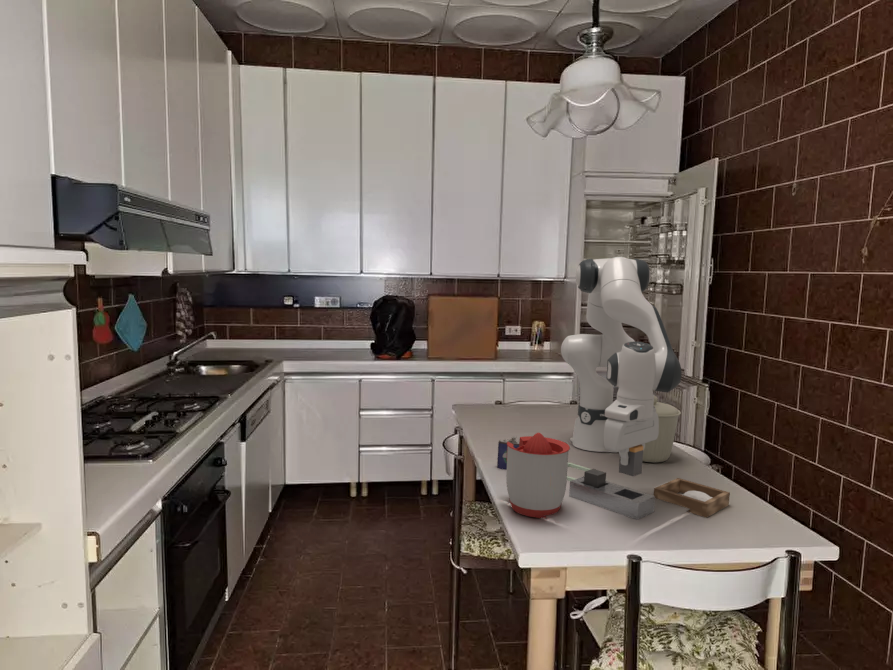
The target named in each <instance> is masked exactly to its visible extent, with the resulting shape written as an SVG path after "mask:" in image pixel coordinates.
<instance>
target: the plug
mask: <svg viewBox="0 0 893 670" xmlns="http://www.w3.org/2000/svg"><path fill="white" fill-rule="evenodd" d="M628 457H629V458H630V464H629V465H622V464H621V457H620V456H619V464H618V473H621V474H624V475H627V476H631V477H636V476H638V475H640V474H641V475H642V473H643V462H644V461H643V446H642V445H638V446H635V447H631V448H629V452H628Z"/></svg>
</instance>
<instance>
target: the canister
mask: <svg viewBox="0 0 893 670" xmlns="http://www.w3.org/2000/svg"><path fill="white" fill-rule="evenodd" d="M654 407H655V408H656V413H657V414H658V419H659V434H658V437H657V439H656V440H654V441H650V442H647V443H645V448H644V450H643V461H642V462H645V463H653V464H654V463H655V464H656V463H663V462H665V461H667V460H668V459H669V458H670V456H671V453H672V450H673V446H674V441H675V437H676V431H677V425H678V421H679V416H681V414H682V411H680V410H679V409H678V408H676V407H675V406H673V404H672V405H671V404H669V403H666V402H665V403H664V402H659V398H658V396H656V395H654Z"/></svg>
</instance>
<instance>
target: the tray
mask: <svg viewBox="0 0 893 670" xmlns="http://www.w3.org/2000/svg"><path fill="white" fill-rule="evenodd" d="M569 467H571V468H573V469H577V470H580V471H583V472H585V471H588V470H591V469H592V468H589V467H587V466H582V465H579V464H576V463H573V462H569V461H568V468H569ZM575 479H576V477H572V476H568V475H567V482H568V481H569V482H570V481H572V480H575Z"/></svg>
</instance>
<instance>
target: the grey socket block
mask: <svg viewBox="0 0 893 670" xmlns="http://www.w3.org/2000/svg"><path fill="white" fill-rule="evenodd" d="M568 490H569V491H568V493H569V494H568V496H569V497H571V498H574V499H577V500H580V501H582V502H585V503H589V504H590V505H593V506H597V507H599V508H603V509H604V510H605V509H606V510H608V511H610V512H614V513H616V514H620V515H622V516H625V517H628V518H630V519H631V518H632V519H633V520H640V519H642V518H645V517H646V516H648V515H650V514H652V513H654V512H655V501H656V498H655V496H654V494H649V493H647V492H643V491H639V490H636V489H633V488H630V487H626V486H623V485H620V484H617V483H614V482H612V481H611V482H610V481H608V480H606V484H605V486H602V487H600V488H595V487H592V486H589V485H586V484H584V475H583V476H580V477H578V478H575V480H572V481H569V489H568Z"/></svg>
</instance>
